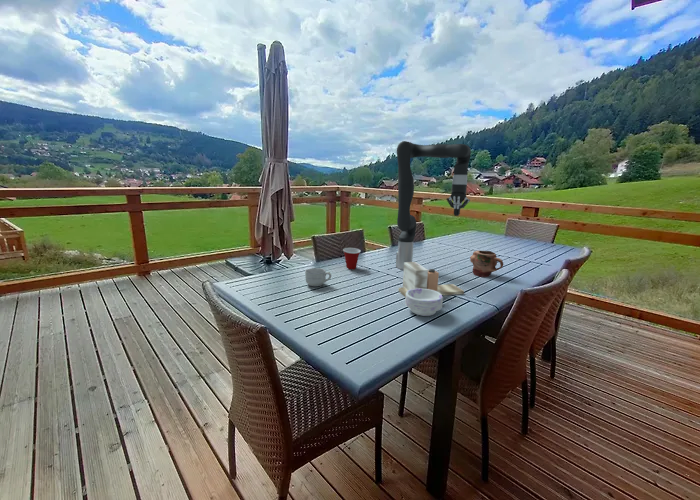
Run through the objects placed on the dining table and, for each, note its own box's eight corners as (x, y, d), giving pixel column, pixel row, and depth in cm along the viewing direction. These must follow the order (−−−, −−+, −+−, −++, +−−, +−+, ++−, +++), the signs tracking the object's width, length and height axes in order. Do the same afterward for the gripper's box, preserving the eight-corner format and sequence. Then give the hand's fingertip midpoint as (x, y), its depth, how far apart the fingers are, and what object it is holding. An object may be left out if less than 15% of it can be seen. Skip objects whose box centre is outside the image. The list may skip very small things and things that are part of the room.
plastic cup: (353, 272, 177) (353, 252, 175) (339, 268, 184) (339, 249, 181) (363, 267, 186) (364, 249, 183) (350, 264, 192) (350, 246, 189)
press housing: (450, 285, 157) (453, 259, 154) (466, 295, 144) (469, 267, 140) (397, 289, 151) (398, 262, 147) (407, 299, 137) (409, 271, 134)
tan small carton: (432, 286, 150) (434, 267, 147) (437, 290, 145) (439, 270, 142) (423, 287, 149) (424, 268, 146) (427, 291, 144) (429, 271, 141)
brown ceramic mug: (506, 277, 171) (509, 254, 167) (497, 282, 163) (500, 257, 160) (473, 269, 185) (475, 247, 182) (463, 273, 178) (465, 250, 174)
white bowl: (414, 301, 136) (416, 284, 134) (447, 310, 127) (448, 293, 125) (397, 312, 125) (398, 294, 123) (431, 323, 115) (433, 304, 114)
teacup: (301, 286, 154) (300, 271, 152) (313, 280, 163) (312, 266, 161) (323, 290, 147) (323, 275, 146) (335, 284, 157) (335, 269, 155)
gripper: (444, 183, 162) (442, 215, 166) (468, 183, 153) (465, 217, 157) (451, 183, 167) (448, 214, 171) (474, 183, 158) (471, 216, 162)
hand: (456, 215), depth 164 cm, fingers closed
